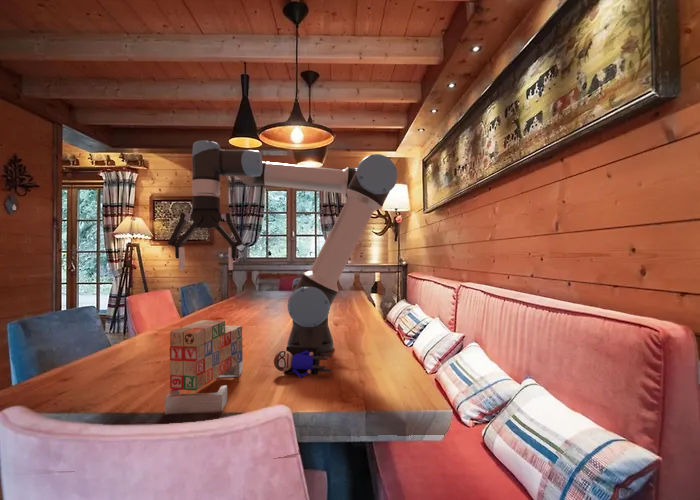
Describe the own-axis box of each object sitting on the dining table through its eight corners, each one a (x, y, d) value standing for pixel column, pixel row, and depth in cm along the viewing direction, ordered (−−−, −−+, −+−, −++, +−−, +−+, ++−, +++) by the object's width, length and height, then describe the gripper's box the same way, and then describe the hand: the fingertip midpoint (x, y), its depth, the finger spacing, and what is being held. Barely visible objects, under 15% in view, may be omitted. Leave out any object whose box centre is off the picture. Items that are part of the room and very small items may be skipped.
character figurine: (328, 382, 95) (271, 379, 98) (335, 371, 102) (281, 368, 105) (327, 351, 94) (270, 349, 97) (334, 342, 101) (280, 340, 104)
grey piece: (242, 370, 103) (242, 357, 103) (239, 377, 98) (239, 363, 98) (200, 372, 102) (200, 359, 102) (195, 378, 97) (195, 365, 97)
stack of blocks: (220, 360, 101) (220, 313, 101) (243, 361, 100) (242, 314, 100) (169, 389, 80) (169, 330, 80) (197, 391, 79) (196, 331, 79)
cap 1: (165, 414, 76) (164, 397, 76) (173, 404, 81) (173, 387, 81) (222, 411, 77) (221, 394, 77) (227, 401, 82) (227, 385, 82)
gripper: (252, 198, 116) (252, 269, 116) (165, 197, 113) (165, 269, 113) (248, 195, 108) (249, 270, 109) (155, 193, 105) (155, 271, 106)
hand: (206, 270), depth 111 cm, fingers open, 13 cm apart
